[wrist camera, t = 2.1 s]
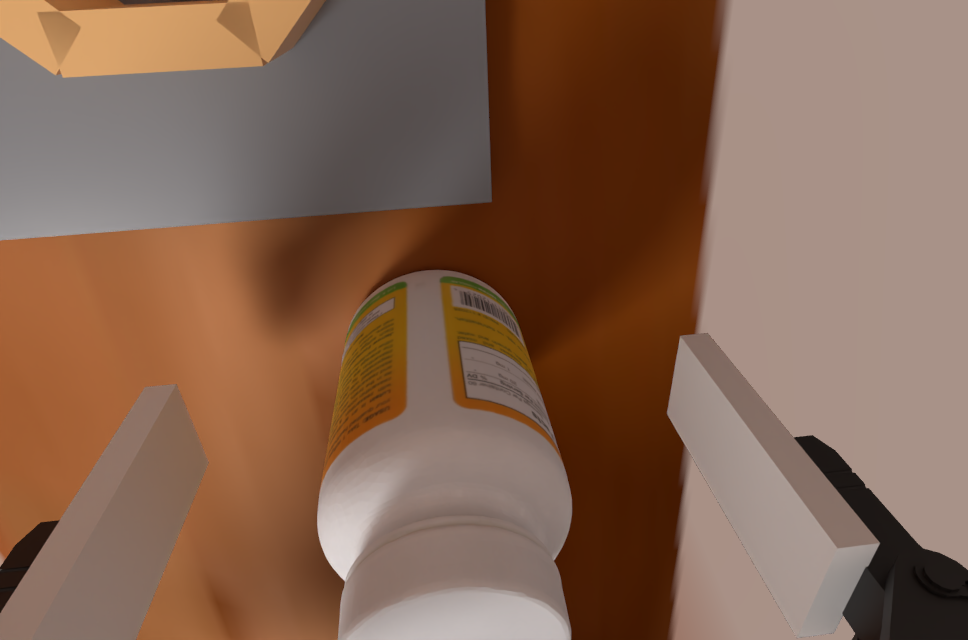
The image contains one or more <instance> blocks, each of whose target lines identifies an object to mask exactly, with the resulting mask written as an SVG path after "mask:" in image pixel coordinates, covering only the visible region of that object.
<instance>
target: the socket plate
mask: <svg viewBox="0 0 968 640" xmlns="http://www.w3.org/2000/svg"><path fill="white" fill-rule="evenodd" d="M487 202H492V186H491V157H490V128H489V99H488V70H487V40H486V11H485V0H0V240H11V239H23V238H36V237H49V236H62V235H75V234H88V233H101V232H113V231H126V230H139V229H152V228H165V227H178V226H191V225H203V224H216V223H229V222H242V221H255V220H268V219H281V218H294V217H306V216H319V215H332V214H345V213H358V212H371V211H384V210H396V209H409V208H422V207H435V206H448V205H461V204H474V203H487Z"/></svg>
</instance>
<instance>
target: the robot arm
mask: <svg viewBox="0 0 968 640" xmlns="http://www.w3.org/2000/svg"><path fill="white" fill-rule="evenodd" d="M667 415H668V417H669V418H670V420H671V422H672V424H673V425H674V427H675V429H676V430H677V432H678V434H679V436H680V437H681V439H682V441H683V443H684V444H685V446H686V448H687V449H688V451H689V453H690V455H691V456H692V458H693V460H694V462H695V463H696V465H697V467H698V469H699V470H700V472H701V474H702V475H703V477H704V479H705V481H706V482H707V484H708V486H709V488H710V489H711V491H712V493H713V494H714V496H715V498H716V500H717V501H718V503H719V505H720V507H721V508H722V510H723V512H724V513H725V515H726V517H727V519H728V520H729V522H730V524H731V526H732V527H733V529H734V531H735V532H736V534H737V536H738V538H739V539H740V541H741V543H742V545H743V546H744V548H745V550H746V551H747V553H748V555H749V556H750V558H751V560H752V562H753V564H754V565H755V567H756V569H757V571H758V572H759V574H760V576H761V577H762V579H763V581H764V583H765V584H766V586H767V588H768V590H769V591H770V593H771V595H772V596H773V598H774V600H775V602H776V603H777V605H778V607H779V609H780V610H781V612H782V614H783V615H784V617H785V619H786V621H787V622H788V624H789V626H790V628H791V629H792V631H793V633H794V634H795V636H796V638H802V637H810V636H817V635H824V634H832V633H834V632H835V630H836V628H837V626H838V624H839V622H840V620H841V618H842V616H844V617H845V619H846V620H847V621H848V623H849V624H850V626H851V627H852V629H853V631H854V632H855V635H854V637H853V639H852V640H968V570H967V569H966V568H964V567H963V566H962V565H960V564H959V563H958V562H957V561H955V560H952V559H951V558H949V557H947V556H945V555H943V554H940V553H938V552H933V551H930V550H926V549H923V548H922V547H921V546H920V545H918V543H917V542H916V541H915V540H914V539H913V538H912V537H911V536H910V534H909V533H908V532H907V531H906V530H905V529H904V528H903V526H902V525H901V524H900V523H899V522H898V521H897V520H896V519H895V518H894V516H893V515H892V514H891V513H890V512H889V511H888V510H887V509H886V507H885V506H884V505H883V504H882V503H881V502H880V501H879V499H878V498H877V497H876V496H875V495H874V494H873V493H872V491H871V490H870V489H869V488H866V487H865V484H864V482H863V481H862V480H861V479H860V478H859V477H858V476H857V475H856V473H852V469H851V468H850V467H849V466H848V465H847V463H846V462H845V461H844V460H843V459H842V458H841V457H840V455H839V454H838V453H837V452H836V451H835V450H834V449H832V448H831V447H829V446H827V445H826V444H825V443H823V442H822V441H820V440H819V439H817V438H816V437H814V436H813V435H812V436H803V437H795V438H793V436H792V435H791V434H790V433H789V432H788V430H787V429H786V428H785V427H784V425H783V424H782V423H781V422H780V421H779V420H778V418H777V417H776V416H775V414H774V413H773V412H772V411H771V410H770V409H769V407H768V406H767V405H766V404H765V402H764V401H763V400H762V399H761V397H760V396H759V395H758V394H757V393H756V391H755V390H754V389H753V388H752V387H751V385H750V384H749V383H748V382H747V380H746V379H745V378H744V377H743V375H742V374H741V373H740V372H739V371H738V369H737V368H736V367H735V366H734V365H733V363H732V362H731V361H730V360H729V359H728V357H727V356H726V355H725V354H724V352H723V351H722V350H721V349H720V347H719V346H718V345H717V344H716V343H715V341H714V340H713V339H712V338H711V337H710V335H709V334H708V333H704V334H693V335H683V336H680V340H679V346H678V352H677V358H676V363H675V369H674V375H673V381H672V387H671V393H670V398H669V404H668V410H667ZM208 463H209V462H208V459H207V457H206V454H205V452H204V449H203V447H202V445H201V442H200V440H199V437H198V435H197V432H196V430H195V428H194V425H193V423H192V420H191V418H190V416H189V413H188V411H187V408H186V406H185V403H184V401H183V399H182V396H181V394H180V391H179V389H178V386H177V384H173V385H162V386H152V387H145V388H144V390H143V391H142V393H141V394H140V396H139V397H138V399H137V401H136V402H135V404H134V405H133V407H132V408H131V410H130V411H129V413H128V415H127V416H126V418H125V419H124V421H123V422H122V424H121V426H120V427H119V429H118V430H117V432H116V433H115V435H114V436H113V438H112V440H111V441H110V443H109V444H108V446H107V447H106V449H105V451H104V452H103V454H102V455H101V457H100V458H99V460H98V461H97V463H96V465H95V466H94V468H93V469H92V471H91V472H90V474H89V475H88V477H87V479H86V480H85V482H84V483H83V485H82V486H81V488H80V490H79V491H78V493H77V494H76V496H75V497H74V499H73V500H72V502H71V504H70V505H69V507H68V508H67V510H66V511H65V513H64V515H63V516H62V518H61V519H60V520H59V521H50V522H41V523H40V524H38V525H37V526H36V527H35V528H34V529H33V530H32V531H31V532H30V533H28V534H27V535H26V536H25V537H24V538H23V539H22V540H21V541H19V542H18V543H17V544H16V545H15V546H14V548H13V549H12V551H11V552H10V554H9V555H8V557H7V558H6V559H5V561H4V562H3V564H2V565H1V567H0V640H136V638H137V635H138V633H139V631H140V628H141V626H142V623H143V621H144V618H145V616H146V614H147V611H148V609H149V606H150V604H151V601H152V599H153V597H154V594H155V592H156V589H157V587H158V585H159V582H160V580H161V577H162V575H163V572H164V570H165V568H166V565H167V563H168V560H169V558H170V555H171V553H172V551H173V548H174V546H175V543H176V541H177V538H178V536H179V534H180V531H181V529H182V526H183V524H184V521H185V519H186V517H187V514H188V512H189V509H190V507H191V504H192V502H193V500H194V497H195V495H196V492H197V490H198V488H199V485H200V483H201V480H202V478H203V475H204V473H205V471H206V468H207V466H208Z"/></svg>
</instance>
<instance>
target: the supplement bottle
mask: <svg viewBox="0 0 968 640" xmlns="http://www.w3.org/2000/svg"><path fill="white" fill-rule="evenodd" d="M571 517H572V497H571V491H570V486H569V482H568V478H567V474H566V471H565V468H564V464H563V461H562V458H561V455H560V452H559V449H558V446H557V443H556V440H555V436H554V433H553V430H552V427H551V424H550V421H549V417H548V414H547V411H546V408H545V405H544V402H543V399H542V395H541V392H540V389H539V386H538V383H537V380H536V376H535V373H534V370H533V367H532V364H531V360H530V357H529V354H528V351H527V348H526V345H525V342H524V338H523V335H522V332H521V329H520V327H519V324H518V322H517V319H516V317H515V315H514V313H513V311H512V310H511V308H510V306H509V305H508V304H507V302H506V301H505V300H504V299H503V298H502V296H501V295H500V294H499V293H498V292H496V291H495V290H494V289H493V288H491V287H490V286H489V285H487V284H486V283H484V282H482V281H480V280H478V279H476V278H474V277H472V276H469V275H466V274H463V273H459V272H455V271H448V270H425V271H418V272H413V273H410V274H406V275H403V276H400V277H398V278H395V279H393V280H391V281H389V282H388V283H386V284H384V285H383V286H381V287H379V288H378V289H377V290H376V291H374V292H373V293H372V294H371V295H370V296H369V297H368V298H367V299H366V300H365V301H364V302H363V303H362V304H361V306H360V307H359V308H358V310H357V311H356V313H355V315H354V317H353V319H352V321H351V323H350V326H349V329H348V333H347V337H346V341H345V347H344V353H343V357H342V365H341V371H340V376H339V382H338V388H337V394H336V400H335V405H334V411H333V417H332V423H331V428H330V434H329V440H328V446H327V451H326V458H325V463H324V469H323V475H322V481H321V487H320V493H319V503H318V512H317V526H318V535H319V540H320V543H321V546H322V549H323V552H324V554H325V556H326V558H327V560H328V562H329V563H330V565H331V566H332V568H333V569H334V570H335V571H336V572H337V574H338V575H339V576H340V577H341V578H342V579H343V580H344V581H345V585H344V589H343V592H342V597H341V604H340V619H339V632H338V640H571V626H570V621H569V617H568V612H567V607H566V603H565V598H564V594H563V589H562V583H561V577H560V574H559V571H558V568H557V566H556V564H555V563H554V560H555V558H556V557H557V555H558V554H559V552H560V550H561V549H562V547H563V545H564V542H565V540H566V538H567V535H568V532H569V528H570V523H571Z"/></svg>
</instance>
